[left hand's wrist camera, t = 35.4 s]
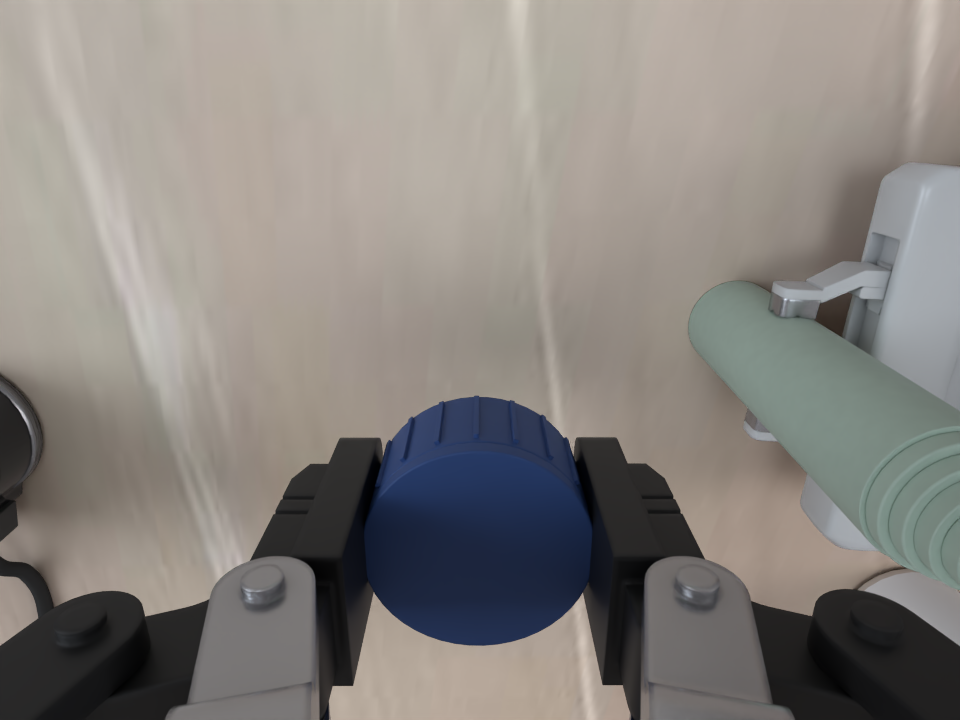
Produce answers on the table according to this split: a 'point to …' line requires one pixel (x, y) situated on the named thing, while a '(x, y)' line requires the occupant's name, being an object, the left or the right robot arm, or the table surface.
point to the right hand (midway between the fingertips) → (761, 362)
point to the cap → (478, 523)
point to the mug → (921, 598)
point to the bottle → (844, 424)
